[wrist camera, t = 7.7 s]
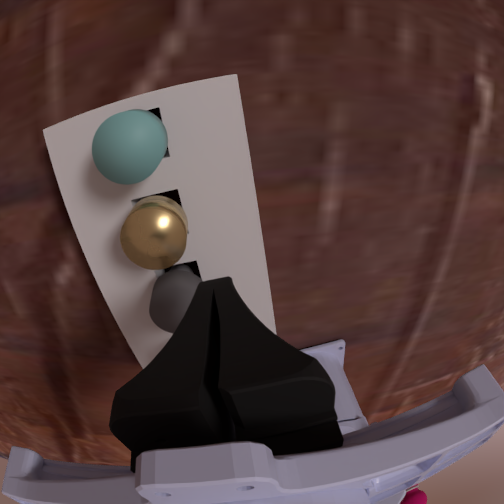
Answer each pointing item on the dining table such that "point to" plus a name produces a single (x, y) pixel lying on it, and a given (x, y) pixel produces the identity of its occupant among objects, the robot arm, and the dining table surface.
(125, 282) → the console
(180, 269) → the dark grey rounded knob
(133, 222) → the brass dome cap
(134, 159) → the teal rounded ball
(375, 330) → the dining table surface
